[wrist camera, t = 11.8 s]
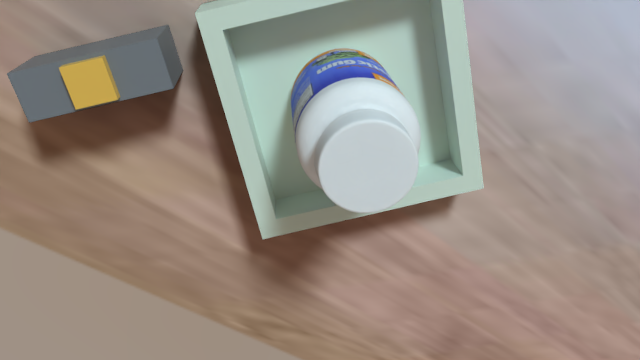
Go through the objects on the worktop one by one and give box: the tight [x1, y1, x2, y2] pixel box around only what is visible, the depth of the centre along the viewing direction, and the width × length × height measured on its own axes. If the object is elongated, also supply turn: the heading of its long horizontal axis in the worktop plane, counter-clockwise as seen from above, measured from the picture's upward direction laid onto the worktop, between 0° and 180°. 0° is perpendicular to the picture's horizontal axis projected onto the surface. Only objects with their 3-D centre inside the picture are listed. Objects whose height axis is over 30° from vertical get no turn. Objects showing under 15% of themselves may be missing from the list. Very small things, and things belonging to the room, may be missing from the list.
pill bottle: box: [291, 48, 421, 213], centre depth 27 cm, size 5×5×10 cm
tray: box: [195, 0, 484, 239], centre depth 31 cm, size 12×12×3 cm
